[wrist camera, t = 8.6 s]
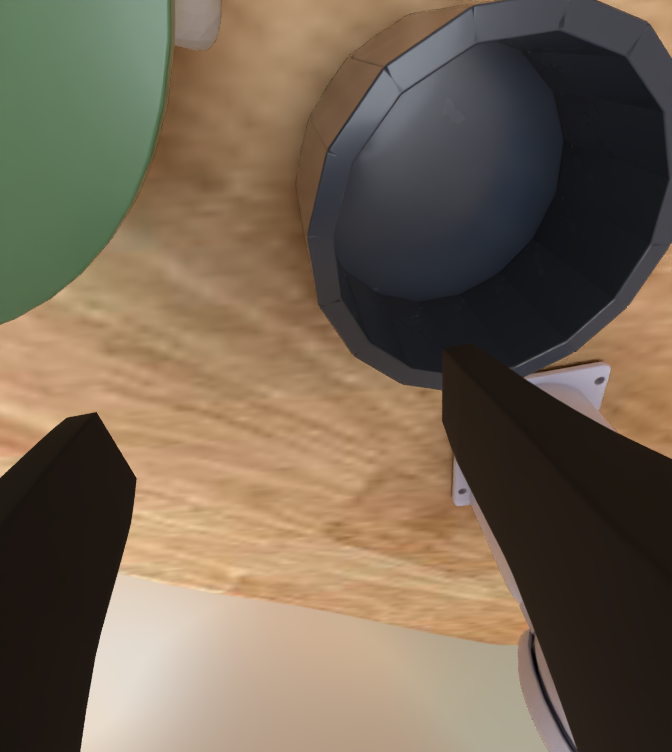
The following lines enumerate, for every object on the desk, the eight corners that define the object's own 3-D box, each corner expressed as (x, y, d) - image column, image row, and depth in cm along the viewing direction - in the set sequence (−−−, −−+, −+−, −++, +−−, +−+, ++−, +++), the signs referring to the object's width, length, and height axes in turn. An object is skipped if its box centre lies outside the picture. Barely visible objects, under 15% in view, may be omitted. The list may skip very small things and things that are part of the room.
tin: (550, 287, 21) (634, 360, 16) (320, 328, 21) (337, 415, 16) (602, -18, 14) (766, -44, 10) (269, 36, 14) (272, 37, 10)
